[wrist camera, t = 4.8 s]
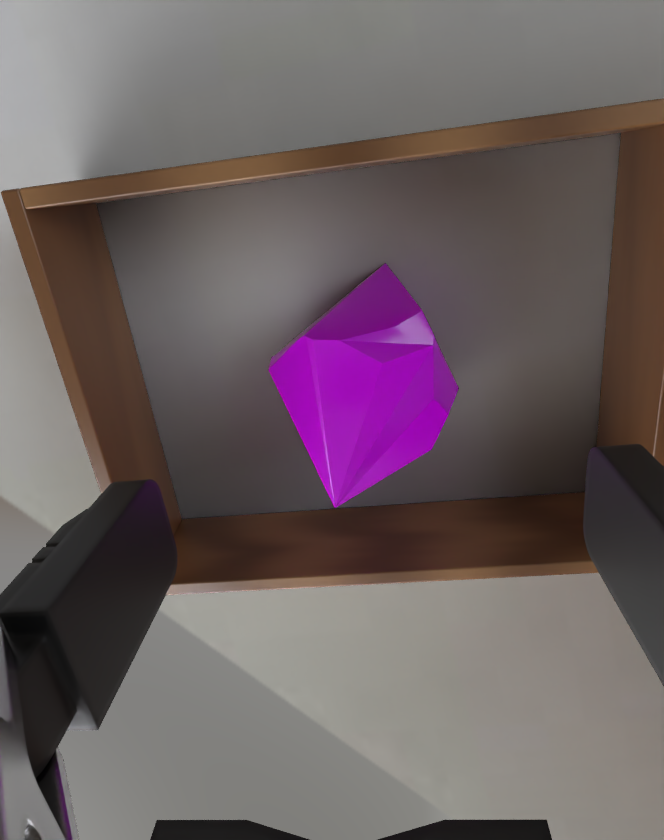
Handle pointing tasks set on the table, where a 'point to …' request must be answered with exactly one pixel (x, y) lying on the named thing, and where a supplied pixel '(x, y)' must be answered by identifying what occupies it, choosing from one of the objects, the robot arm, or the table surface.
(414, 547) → the wooden box frame
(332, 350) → the crystal
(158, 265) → the table surface
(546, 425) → the table surface
